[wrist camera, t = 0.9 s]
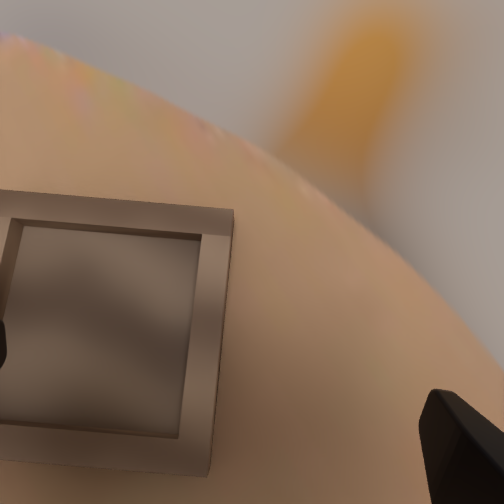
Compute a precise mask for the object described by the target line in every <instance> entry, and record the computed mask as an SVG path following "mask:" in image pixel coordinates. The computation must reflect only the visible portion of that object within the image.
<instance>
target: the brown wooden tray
mask: <svg viewBox="0 0 504 504" xmlns="http://www.w3.org/2000/svg"><path fill="white" fill-rule="evenodd" d="M233 227H234V211H233V209H222V208H211V207H199V206H187V205H176V204H164V203H152V202H141V201H129V200H117V199H106V198H94V197H82V196H71V195H59V194H47V193H36V192H24V191H12V190H1V189H0V319H1V320H3V322H4V324H5V332H6V343H7V357H6V360H5V362H4V364H3V366H2V367H1V369H0V460H8V461H20V462H31V463H43V464H55V465H67V466H78V467H90V468H102V469H114V470H125V471H137V472H149V473H161V474H172V475H184V476H196V477H207V475H208V472H209V469H210V462H211V452H212V441H213V431H214V421H215V411H216V401H217V390H218V380H219V370H220V360H221V350H222V339H223V329H224V319H225V309H226V298H227V288H228V278H229V268H230V258H231V247H232V237H233Z"/></svg>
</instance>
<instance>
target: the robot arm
mask: <svg viewBox="0 0 504 504" xmlns="http://www.w3.org/2000/svg"><path fill="white" fill-rule="evenodd" d="M6 357H7V343H6V332H5V324H4V322H3V320H1V319H0V369H1V367H2V366H3V364H4V362H5V360H6ZM419 434H420V440H421V446H422V452H423V458H424V464H425V470H426V476H427V481H428V487H429V493H430V498H431V503H432V504H504V432H502V431H501V430H500V429H499V428H497V427H496V426H495V425H494V424H492V423H491V422H490V421H489V420H487V419H486V418H485V417H484V416H483V415H481V414H480V413H479V412H478V411H476V410H475V409H474V408H473V407H471V406H470V405H469V404H468V403H467V402H465V401H464V400H463V399H462V398H460V397H459V396H458V395H457V394H455V393H454V392H452V391H447V390H441V389H433V390H431V391H430V393H429V395H428V397H427V400H426V403H425V405H424V408H423V411H422V414H421V416H420V419H419Z"/></svg>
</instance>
